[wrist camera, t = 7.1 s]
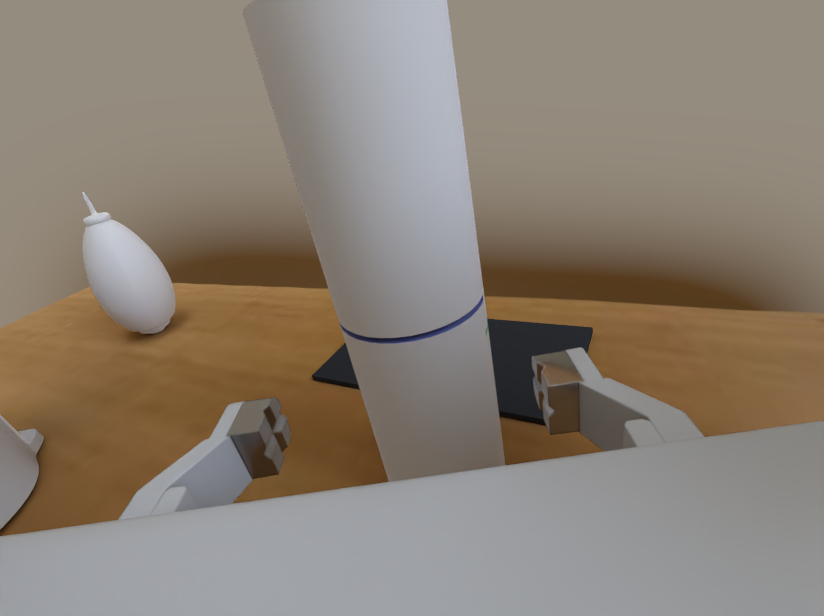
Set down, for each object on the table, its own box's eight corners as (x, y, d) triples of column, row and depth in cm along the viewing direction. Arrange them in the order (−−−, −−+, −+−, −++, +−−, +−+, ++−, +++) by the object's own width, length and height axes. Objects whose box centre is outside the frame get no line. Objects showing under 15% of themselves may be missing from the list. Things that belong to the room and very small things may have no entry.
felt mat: (313, 380, 39) (311, 375, 39) (380, 313, 48) (379, 309, 48) (567, 429, 28) (567, 423, 28) (592, 332, 37) (592, 327, 37)
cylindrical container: (370, 505, 26) (199, 22, 15) (426, 424, 31) (332, 19, 20) (478, 551, 22) (363, -48, 11) (523, 452, 28) (476, -29, 16)
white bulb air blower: (163, 345, 52) (81, 196, 43) (110, 349, 53) (22, 207, 45) (200, 312, 58) (136, 178, 50) (152, 317, 60) (83, 188, 52)
